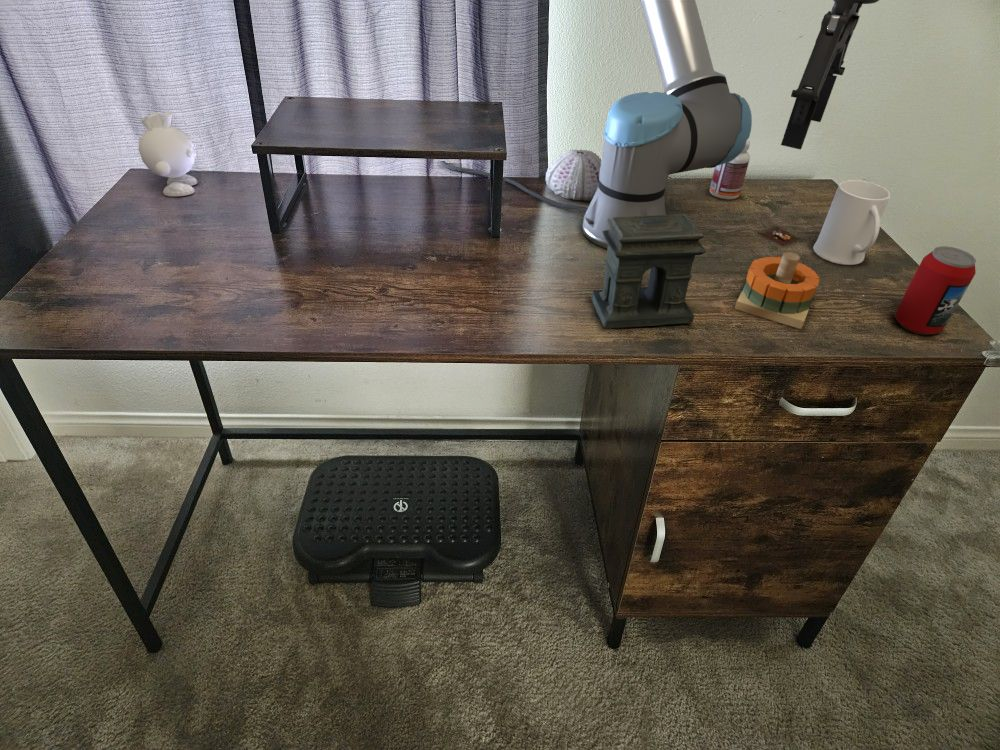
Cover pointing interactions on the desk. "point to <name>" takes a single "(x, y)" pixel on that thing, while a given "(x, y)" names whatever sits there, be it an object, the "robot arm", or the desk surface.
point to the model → (634, 252)
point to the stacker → (772, 308)
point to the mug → (852, 222)
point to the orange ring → (777, 289)
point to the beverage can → (936, 290)
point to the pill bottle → (730, 176)
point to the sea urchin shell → (575, 174)
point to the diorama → (780, 237)
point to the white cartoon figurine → (168, 153)
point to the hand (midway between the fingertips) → (801, 132)
